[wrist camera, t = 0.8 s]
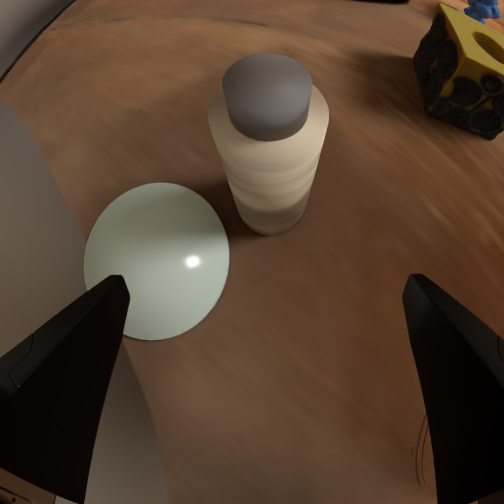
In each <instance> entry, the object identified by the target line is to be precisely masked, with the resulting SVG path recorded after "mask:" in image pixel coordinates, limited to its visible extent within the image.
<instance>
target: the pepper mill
mask: <svg viewBox="0 0 504 504" xmlns="http://www.w3.org/2000/svg"><path fill="white" fill-rule="evenodd" d="M222 86H223V87H221V88H220V89H219V91H218V92H217V93H216V94H215V96H214V97H213V99H212V101H211V104H210V107H209V112H208V121H209V125H210V129H211V132H212V135H213V138H214V141H215V144H216V147H217V150H218V153H219V156H220V159H221V162H222V165H223V168H224V171H225V174H226V177H227V180H228V183H229V186H230V189H231V192H232V195H233V198H234V201H235V204H236V207H237V210H238V213H239V215H240V218H241V219H242V221H243V222H244V223H245V225H246V226H247V227H248V228H250V229H251V230H253V231H255V232H256V233H259V234H262V235H268V236H275V235H280V234H284V233H286V232H288V231H290V230H291V229H293V228H294V227H295V226H296V225H297V224H298V223H299V222H300V220H301V218H302V217H303V214H304V211H305V207H306V204H307V200H308V197H309V193H310V190H311V186H312V182H313V179H314V175H315V172H316V168H317V164H318V160H319V157H320V153H321V149H322V145H323V142H324V138H325V134H326V130H327V126H328V121H329V111H328V106H327V103H326V101H325V99H324V97H323V96H322V94H321V93H320V91H319V90H318V89H317V88H316V87H315V86H314V85H312V78H311V75H310V73H309V72H308V70H307V69H306V68H305V67H304V66H303V65H302V64H301V63H299V62H298V61H296V60H294V59H292V58H290V57H287V56H284V55H279V54H270V53H265V54H256V55H252V56H248V57H245V58H243V59H241V60H239V61H237V62H236V63H234V64H233V65H232V66H231V67H230V68H229V69H228V70H227V72H226V73H225V75H224V78H223V82H222Z"/></svg>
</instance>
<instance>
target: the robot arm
mask: <svg viewBox="0 0 504 504" xmlns="http://www.w3.org/2000/svg"><path fill="white" fill-rule="evenodd" d="M402 300H403V306H404V311H405V316H406V322H407V328H408V334H409V339H410V344H411V348H412V352H413V355H414V359H415V363H416V367H417V372H418V376H419V380H420V385H421V389H422V394H423V399H424V403H425V409H426V414H427V419H428V425H429V431H430V437H431V444H432V451H433V457H434V458H433V460H434V468H435V478H436V489H437V503H438V504H469V503H472V502H474V501H477V500H478V504H504V340H503V339H502V338H501V337H500V336H499V335H497V334H496V333H495V332H494V331H493V330H492V329H491V328H489V327H488V326H487V325H486V324H485V323H484V322H482V321H481V320H480V319H479V318H478V317H476V316H475V315H474V314H473V313H472V312H470V311H469V310H468V309H467V308H465V307H464V306H463V305H462V304H461V303H459V302H458V301H457V300H456V299H454V298H453V297H452V296H450V295H449V294H448V293H447V292H445V291H444V290H443V289H442V288H440V287H439V286H438V285H436V284H435V283H434V282H432V281H431V280H430V279H428V278H427V277H426V276H424V275H423V274H411V275H410V276H409V277H408V280H407V283H406V286H405V289H404V292H403V296H402ZM129 304H130V293H129V290H128V287H127V285H126V282H125V279H124V277H123V276H122V275H115V274H112V275H109V276H108V277H106V278H105V279H103V280H102V281H101V282H99V283H98V284H97V285H95V286H94V287H92V288H91V289H90V290H88V291H87V292H86V293H84V294H83V295H82V296H80V297H79V298H77V299H76V300H75V301H73V302H72V303H71V304H69V305H68V306H67V307H66V308H64V309H63V310H62V311H60V312H59V313H58V314H56V315H55V316H54V317H52V318H51V319H50V320H49V321H47V322H46V323H45V324H43V325H42V326H41V327H40V328H38V329H37V330H36V331H35V332H34V333H32V334H31V335H29V336H28V337H27V338H26V339H25V340H23V341H22V342H21V343H19V344H18V345H17V346H16V347H14V348H13V349H12V350H10V351H9V352H7V353H6V354H5V355H3V356H2V357H1V358H0V504H55V499H56V495H57V496H59V497H62V498H64V499H67V500H69V501H72V502H75V503H78V504H84V500H85V494H86V488H87V482H88V475H89V470H90V465H91V459H92V454H93V452H92V451H93V449H94V444H95V438H96V434H97V430H98V426H99V421H100V417H101V413H102V409H103V405H104V401H105V397H106V393H107V389H108V386H109V382H110V378H111V375H112V371H113V368H114V364H115V361H116V358H117V354H118V351H119V348H120V344H121V341H122V337H123V332H124V327H125V322H126V318H127V313H128V308H129Z"/></svg>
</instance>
